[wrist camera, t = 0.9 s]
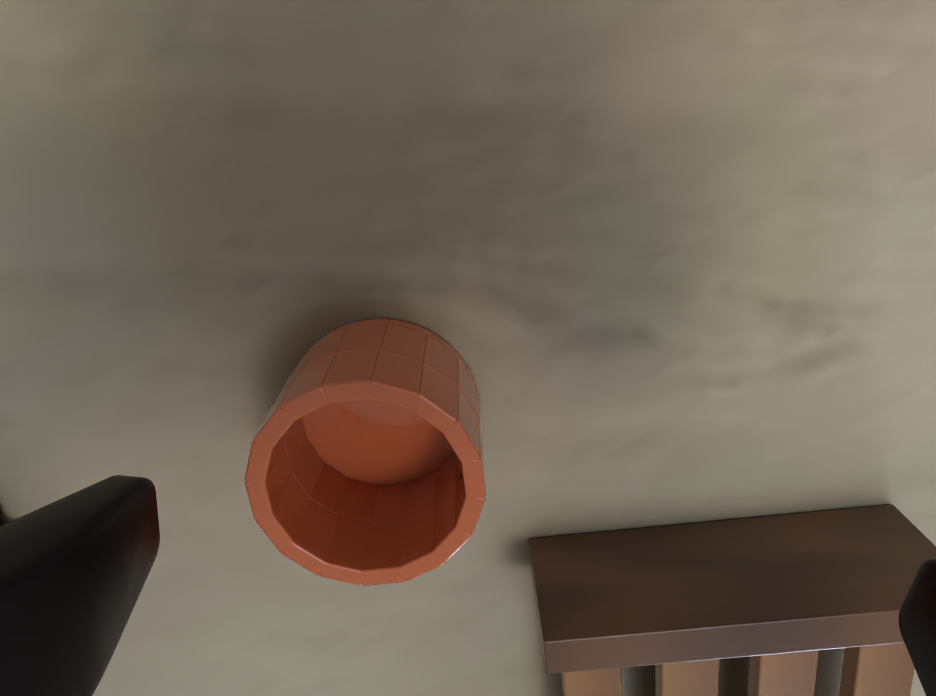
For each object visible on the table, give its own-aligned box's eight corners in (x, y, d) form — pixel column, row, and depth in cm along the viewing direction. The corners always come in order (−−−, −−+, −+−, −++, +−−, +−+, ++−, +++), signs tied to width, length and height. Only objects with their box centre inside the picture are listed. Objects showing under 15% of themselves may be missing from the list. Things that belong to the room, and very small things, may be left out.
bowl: (309, 497, 22) (273, 595, 18) (271, 329, 20) (220, 395, 16) (488, 479, 22) (494, 574, 18) (469, 308, 20) (471, 369, 15)
